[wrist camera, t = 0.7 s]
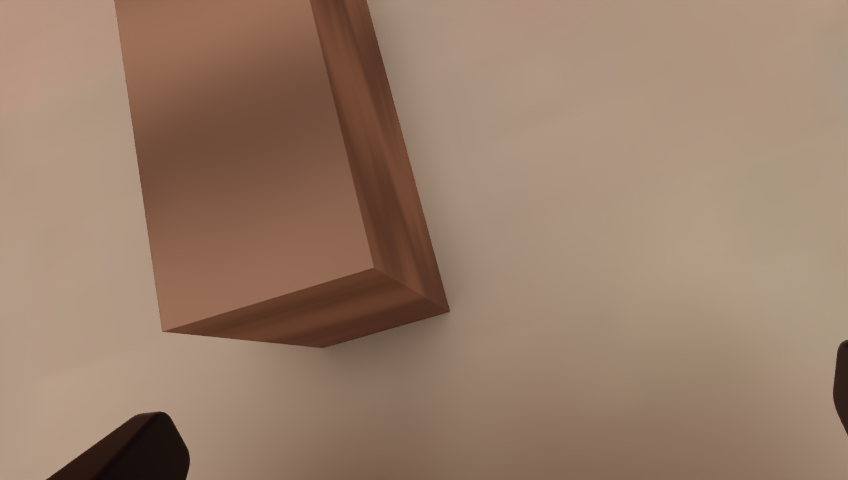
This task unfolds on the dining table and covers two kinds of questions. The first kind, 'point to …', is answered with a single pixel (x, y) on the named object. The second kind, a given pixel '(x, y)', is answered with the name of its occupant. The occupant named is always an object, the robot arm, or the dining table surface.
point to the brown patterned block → (274, 171)
